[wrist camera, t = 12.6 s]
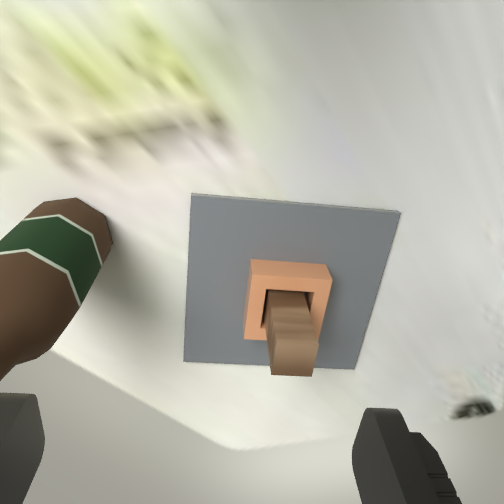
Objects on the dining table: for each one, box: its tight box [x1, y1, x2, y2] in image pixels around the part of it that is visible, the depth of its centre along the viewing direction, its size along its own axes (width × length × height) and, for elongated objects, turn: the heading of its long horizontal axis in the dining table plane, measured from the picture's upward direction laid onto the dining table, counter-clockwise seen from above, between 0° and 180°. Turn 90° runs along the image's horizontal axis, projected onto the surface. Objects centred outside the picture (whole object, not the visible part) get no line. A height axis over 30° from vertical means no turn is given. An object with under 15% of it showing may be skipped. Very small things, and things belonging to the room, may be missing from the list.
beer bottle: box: [0, 198, 113, 381], centre depth 29 cm, size 8×8×24 cm
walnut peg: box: [263, 289, 319, 377], centre depth 39 cm, size 4×4×10 cm
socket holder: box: [183, 193, 401, 369], centre depth 43 cm, size 20×20×4 cm
